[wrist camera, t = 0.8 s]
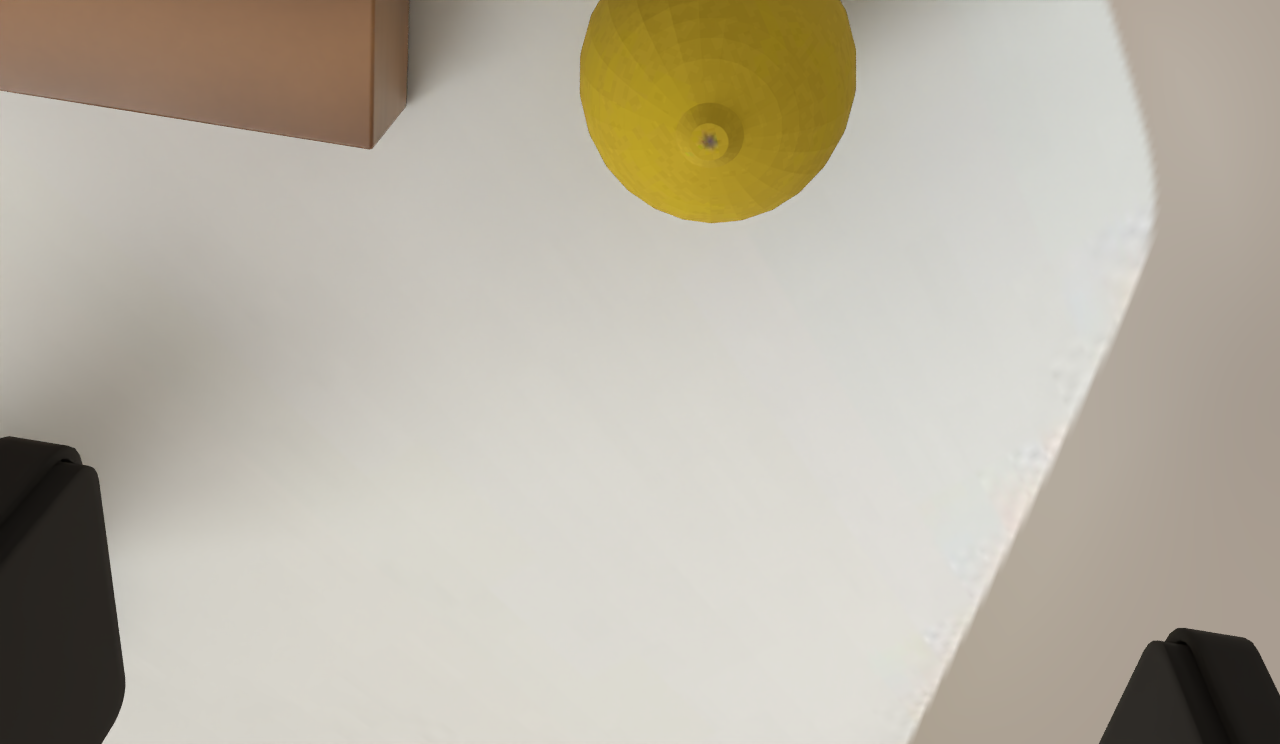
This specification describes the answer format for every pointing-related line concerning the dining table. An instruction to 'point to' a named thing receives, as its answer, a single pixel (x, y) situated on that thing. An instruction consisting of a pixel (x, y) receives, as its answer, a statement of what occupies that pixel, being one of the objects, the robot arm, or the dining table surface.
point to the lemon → (717, 99)
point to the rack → (218, 61)
